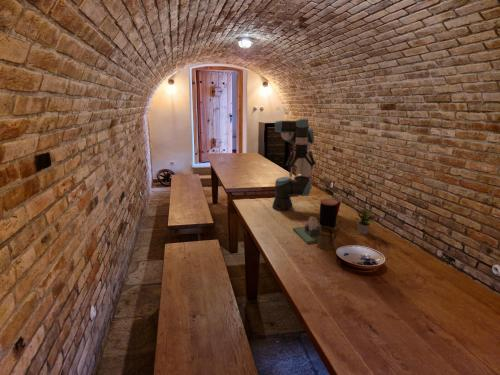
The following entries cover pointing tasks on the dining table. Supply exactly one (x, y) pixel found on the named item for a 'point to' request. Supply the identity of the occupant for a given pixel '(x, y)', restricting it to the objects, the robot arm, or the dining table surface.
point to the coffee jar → (328, 212)
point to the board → (308, 233)
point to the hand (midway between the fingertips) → (300, 176)
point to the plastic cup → (337, 203)
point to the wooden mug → (327, 237)
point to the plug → (312, 223)
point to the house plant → (364, 221)
